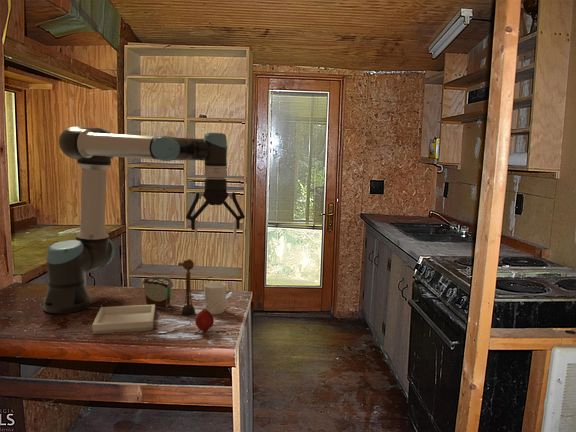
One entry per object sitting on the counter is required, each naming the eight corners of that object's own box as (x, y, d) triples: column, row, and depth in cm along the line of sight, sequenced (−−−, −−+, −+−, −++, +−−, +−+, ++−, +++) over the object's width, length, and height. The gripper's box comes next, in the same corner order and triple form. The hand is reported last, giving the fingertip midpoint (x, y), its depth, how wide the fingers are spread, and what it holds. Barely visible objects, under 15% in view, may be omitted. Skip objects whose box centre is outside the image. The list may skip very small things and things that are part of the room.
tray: (92, 334, 139) (92, 324, 139) (100, 315, 154) (100, 307, 154) (152, 330, 143) (152, 321, 143) (155, 312, 159) (155, 304, 158)
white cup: (221, 316, 157) (221, 288, 156) (200, 313, 159) (200, 286, 157) (229, 308, 165) (229, 282, 164) (208, 306, 166) (209, 280, 165)
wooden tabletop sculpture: (176, 315, 157) (176, 260, 154) (181, 310, 161) (181, 256, 158) (192, 316, 156) (192, 261, 153) (197, 312, 160) (197, 257, 158)
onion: (196, 328, 146) (196, 304, 145) (214, 328, 147) (214, 304, 146) (194, 335, 140) (194, 311, 139) (212, 335, 141) (212, 311, 140)
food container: (180, 305, 167) (180, 279, 166) (169, 310, 162) (169, 283, 160) (154, 299, 172) (154, 274, 171) (143, 304, 167) (142, 278, 165)
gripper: (178, 178, 147) (179, 241, 150) (253, 179, 153) (252, 239, 156) (178, 177, 154) (179, 237, 157) (249, 178, 160) (249, 235, 163)
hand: (215, 238), depth 157 cm, fingers open, 13 cm apart
